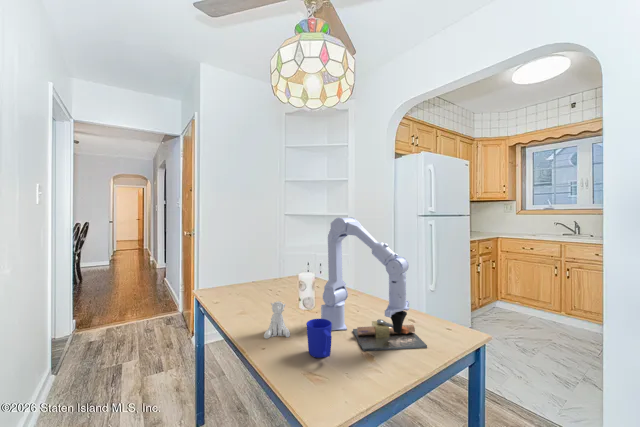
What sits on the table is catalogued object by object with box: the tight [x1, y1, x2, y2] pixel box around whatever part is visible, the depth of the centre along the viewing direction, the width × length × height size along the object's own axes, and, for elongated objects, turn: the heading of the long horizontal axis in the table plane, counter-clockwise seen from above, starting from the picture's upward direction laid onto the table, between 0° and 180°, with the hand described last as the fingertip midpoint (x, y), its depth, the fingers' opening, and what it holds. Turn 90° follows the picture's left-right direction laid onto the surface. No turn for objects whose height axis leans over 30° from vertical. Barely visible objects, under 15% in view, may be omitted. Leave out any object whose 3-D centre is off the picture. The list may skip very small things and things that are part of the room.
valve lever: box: [376, 319, 409, 334], centre depth 102 cm, size 12×2×1 cm, turn 43°
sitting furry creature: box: [263, 301, 291, 340], centre depth 109 cm, size 10×9×12 cm
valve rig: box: [352, 320, 428, 352], centre depth 104 cm, size 22×16×5 cm
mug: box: [305, 318, 333, 359], centre depth 92 cm, size 8×12×10 cm
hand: (397, 332), depth 99 cm, fingers closed, pressing on valve lever
